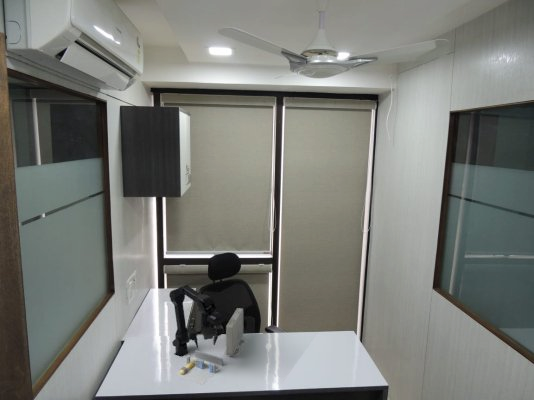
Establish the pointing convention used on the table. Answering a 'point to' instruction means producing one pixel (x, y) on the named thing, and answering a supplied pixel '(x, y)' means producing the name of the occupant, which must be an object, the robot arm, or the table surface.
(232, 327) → the network device
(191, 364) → the yellow capsule with collar
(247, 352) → the table surface
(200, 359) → the pipe mounting panel
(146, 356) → the table surface
